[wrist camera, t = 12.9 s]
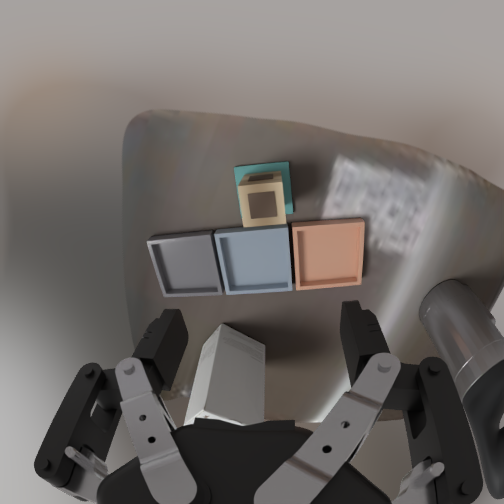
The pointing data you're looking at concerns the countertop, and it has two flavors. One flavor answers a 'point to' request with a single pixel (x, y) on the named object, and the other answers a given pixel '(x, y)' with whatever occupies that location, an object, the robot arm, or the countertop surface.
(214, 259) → the dish charcoal
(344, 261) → the dish terracotta
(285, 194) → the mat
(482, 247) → the countertop surface
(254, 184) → the letter block
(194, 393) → the skincare box
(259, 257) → the dish slate
